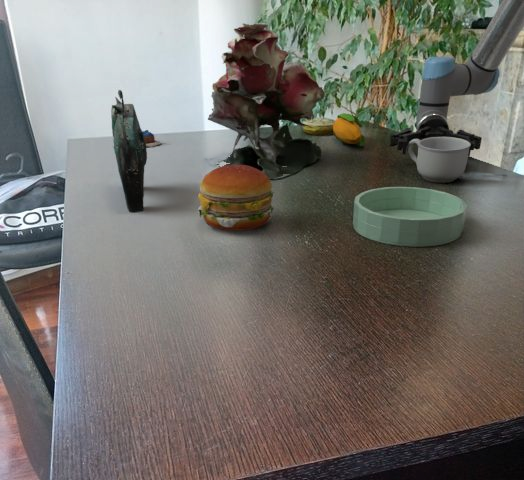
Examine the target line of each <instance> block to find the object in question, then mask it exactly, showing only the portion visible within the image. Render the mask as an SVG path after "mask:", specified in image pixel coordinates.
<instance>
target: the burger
mask: <svg viewBox="0 0 524 480" xmlns="http://www.w3.org/2000/svg"><path fill="white" fill-rule="evenodd" d="M262 171H263V170H260V169H258V168H256V167H251V166H247V165H226V166H222V167H219V166H218V167H217V168H215V169H213V170H211V171H209V173H207V174H205V176H203V178H202V180H201V182H200V184H199V185H200V186H199V191H200V193H198V195H197V197H198V200H199V204H200V206H199V207H198V208H197V209H198V210H197V211H198V216H199V218H203V220H204V222H205V223H206V224H207V225H208V226H209V227H213V228H215V229H221V230H224V231H225V230H226V231H244V230H245V231H247V230H252V229H256V228H260V227H261V226H264V225H266V224H267V222H269V220H270V218H272V217H273V216H272V215H273V211H274V210H275V207H274V206H273V204H272V199H273V197H274V191H273V189H272V188H273V185H272V180H270V179H269V178H268V177H267V176H266V175H265V174H264V173H263V172H262Z"/></svg>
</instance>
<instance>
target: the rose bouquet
mask: <svg viewBox="0 0 524 480" xmlns="http://www.w3.org/2000/svg"><path fill="white" fill-rule="evenodd" d="M268 27H269V23H266V22H259V23H258V22H255V23H254V24H249V23H242V25H241V26H238V27H237V28H233V31H234V33H235V34H237V35H238V37H235V38H233V39H231V40H229V42H228V43H227V48H228V49H230V50H231V51H228V52H223V53H222V54H221V59H222V61H223V62H222V64H224V65H225V74H223V75H221V76H220V77H219V79H218V80H217V81H216V82H213V83H212V91H211V95H210V97H211V98H212V105H213V108H211V111H212V112H211V113H210V114H209V115H208V117H207V120H208V121H211V122H212V123H214V124H218V125H219V126H223V127H225V128H226V129H229V130H232V131H234V132H236V133H237V136H236V137H235V141H234V145H233V150H232V152H231V153H232V154H231V153H230V154H231V155H230V157H228V156H227V157H226V158H225V159H224V160H225V161H224V160H223V161H224V162H226V163H230V164H226V165H247V166H251V167H253V168H255V167H259V166H260V167H261V168H262V170H261V171H262V172H263V173H264V174H265V175H266V176H267V177H268V178H269V180H270V179H274V180H277V179H276V178H278V177H281V176H283V174H292V175H294V174H296V173H298V172H300V171H301V170H303V169H304V167H305V166H307V165H312V164H314V163H316V162H317V160H318V159H320V158H322V154H323V153H322V149H321V146H320V145H317V141H315V142H313V140H311V139H308V138H306V137H297V138H293V136H292V135H291V132H290V128H289V122H291V123H294V124H295V125H298V126H300V127H302V126H303V127H304V126H308V125H306V124H303V123H302V121H301V119H305V120H311V119H313V117H314V111H313V109H315V108H316V107H317V103H318V102H320V101H321V100H323V99H324V98H325V97H326V93H325V91H324V89H323V87H322V86H320V85H319V83H318V82H317V81H316V80H315V79H314V78H313V77H312V75H311V74H310V71H309V70H308V69H307V66H305V65H302V64H300V63H299V62H298V61H289V62H287V63H286V59H287V57H289V53H288V52H287V50H282V49H281V48H280V46H279V44H278V40H279V34H278V33H277V32H276V33H275V32H274V31H273V30H271V29H270V28H268ZM280 121H288V122H287V123H285V124H284V125H282V126H281V124H280ZM262 126H269V127H271V128H272V133H271V134H270V135H269V136H267V137H263V138H262V137H261V136H260V135H261V134H260V132H261V130H260V128H261V127H262ZM280 126H281V127H280ZM303 127H302V128H303ZM308 127H310V126H308ZM310 128H312V127H310ZM242 137H244V138H243V142H246V140H247V139H248V140H250V142H251V144H252V145H250V144H247V145H246V146H243V147H238V148H236V146H237V145H238V144H239V142H240V140H241V138H242ZM226 165H224V166H226ZM254 166H255V167H254ZM282 166H287V167H282Z"/></svg>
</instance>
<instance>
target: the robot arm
mask: <svg viewBox="0 0 524 480" xmlns="http://www.w3.org/2000/svg"><path fill="white" fill-rule="evenodd" d="M495 11H496V12H495V13H494V15H493V17H492V18H491V20H490V21H489V24H488V26H487V27H486V29H485V30H484V32H483V35H482V36H481V38H480V40H479V41H478V43H477V44H476V46H475V48H474V50H473V51H472V53H471V55H470V57H469V58H468V60H467V62H466V63H456V58H454V57H452V56H429V57H427V58H426V59H425V60H424V65H423V68H422V69H423V70H422V74H421V87H420V94H419V95H420V97H419V102H418V108H417V116H416V119H415V127H416V131H413V129H411V128H410V127H406V128H404V129H403V130H399V131H397V132H394V133H392V134H390V140H389V147H395V146H397V147H396V149H397V150H396V151H402V152H401V153H402V155H407V146H408V143H409V142H410V141H411V140H413V139H419V140H422V139H426V138H431V137H454V138H459V139H463V140H466V141H468V142H470V144H471V146H470V148H469V154H468V158H469V157H470V156H471V151H474V150H480V149H481V145H482V138H483V137H482V136H479V135H476V134H474V133H470V132H467V131H465V130H464V129H458V130H457V131H456V132H454V131H453V129H450V127H449V124H448V121H447V120H448V119H447V118H448V114H449V113H448V111H449V105H450V102H451V101H450V100H451V97H459V96H460V97H461V96H470V95H471V96H473V95H474V96H478V95H482V94H486V93H490V92H491V91H493V90H494V89H495V88H496V87H497V85H498V83H499V78H500V69H499V67H500V66H501V63H502V62H503V61H504V59H505V57H506V55H508V53H509V51H510V49H511V48H512V46H513V45H514V43H515V42H516V39H517V38H518V37H519V35H520V33H521V32H522V30H523V29H524V0H502V1H501V3H500V4H499V6H498V8H497V10H495Z"/></svg>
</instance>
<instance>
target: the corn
mask: <svg viewBox="0 0 524 480" xmlns="http://www.w3.org/2000/svg"><path fill="white" fill-rule="evenodd" d="M362 128H363V126H362V123H361V120H360V119H359V118H358V117H357V116H356V115H354V114H353V115H352V114H350V113H346V112H345V113H344V112H343V113H340V114H338V115H337V117H336V119H335V122H334V124H333V133H332V134H333V136H334V137H335V138H336V140H337V141H338V142H339V143H341V144H342V145H346V144H349V145H351V144H354V145H355V146H356V145H357V146H358V147H362V146H364V145H365V144H366V137H365V136H364V135H363V134H362V131H361V129H362ZM345 143H346V144H345Z"/></svg>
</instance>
